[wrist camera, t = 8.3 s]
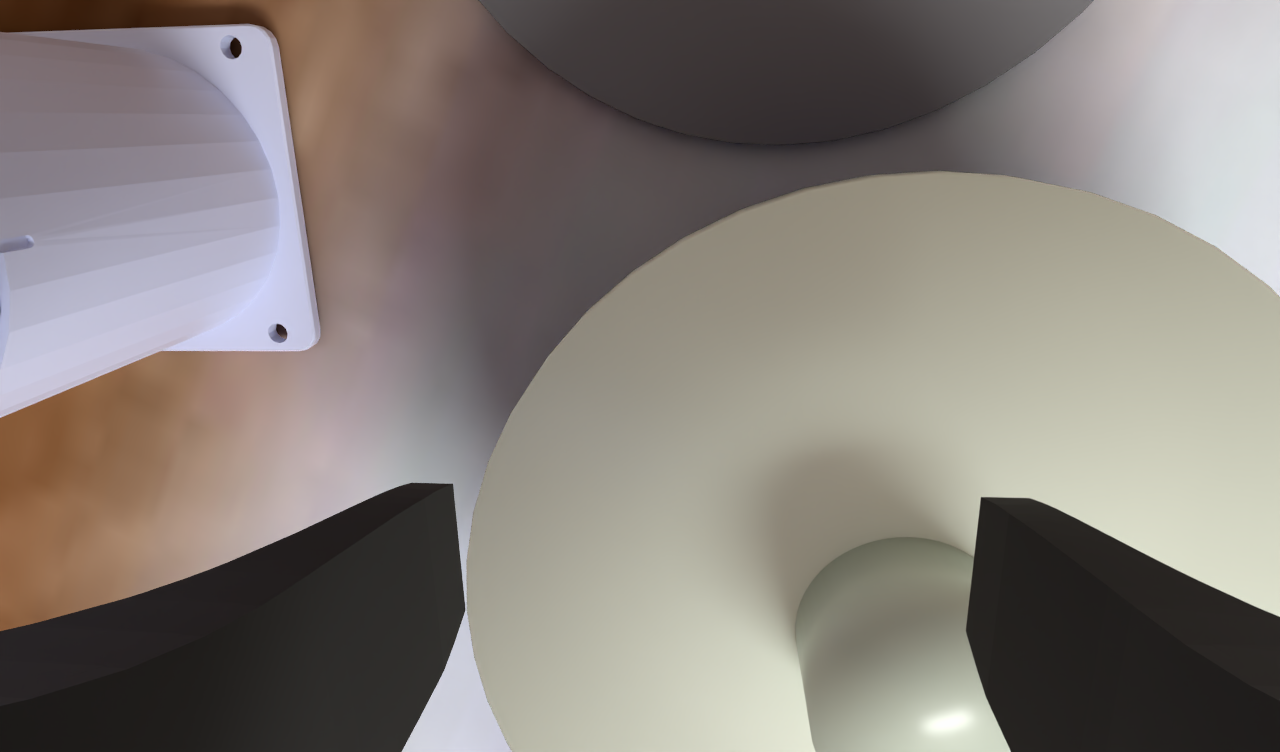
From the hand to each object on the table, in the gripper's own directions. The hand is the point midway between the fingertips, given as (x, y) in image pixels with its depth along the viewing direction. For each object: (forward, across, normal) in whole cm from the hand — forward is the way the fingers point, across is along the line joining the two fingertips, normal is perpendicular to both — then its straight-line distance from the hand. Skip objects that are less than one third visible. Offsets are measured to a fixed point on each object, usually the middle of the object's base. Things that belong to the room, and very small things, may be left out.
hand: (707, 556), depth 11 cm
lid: (+5, -4, +4) cm, 7 cm away
